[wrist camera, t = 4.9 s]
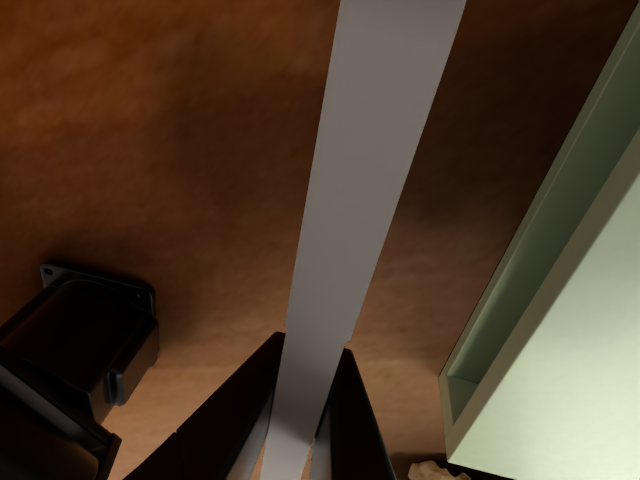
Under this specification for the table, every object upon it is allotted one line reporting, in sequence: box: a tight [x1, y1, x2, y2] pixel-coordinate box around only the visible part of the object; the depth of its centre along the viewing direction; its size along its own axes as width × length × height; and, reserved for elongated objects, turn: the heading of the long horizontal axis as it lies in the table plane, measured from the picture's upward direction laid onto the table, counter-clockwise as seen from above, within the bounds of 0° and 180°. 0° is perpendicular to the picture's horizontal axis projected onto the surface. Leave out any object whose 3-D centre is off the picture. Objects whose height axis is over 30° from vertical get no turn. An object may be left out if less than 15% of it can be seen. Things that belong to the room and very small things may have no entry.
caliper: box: [259, 0, 466, 480], centre depth 8 cm, size 20×1×6 cm, turn 171°
